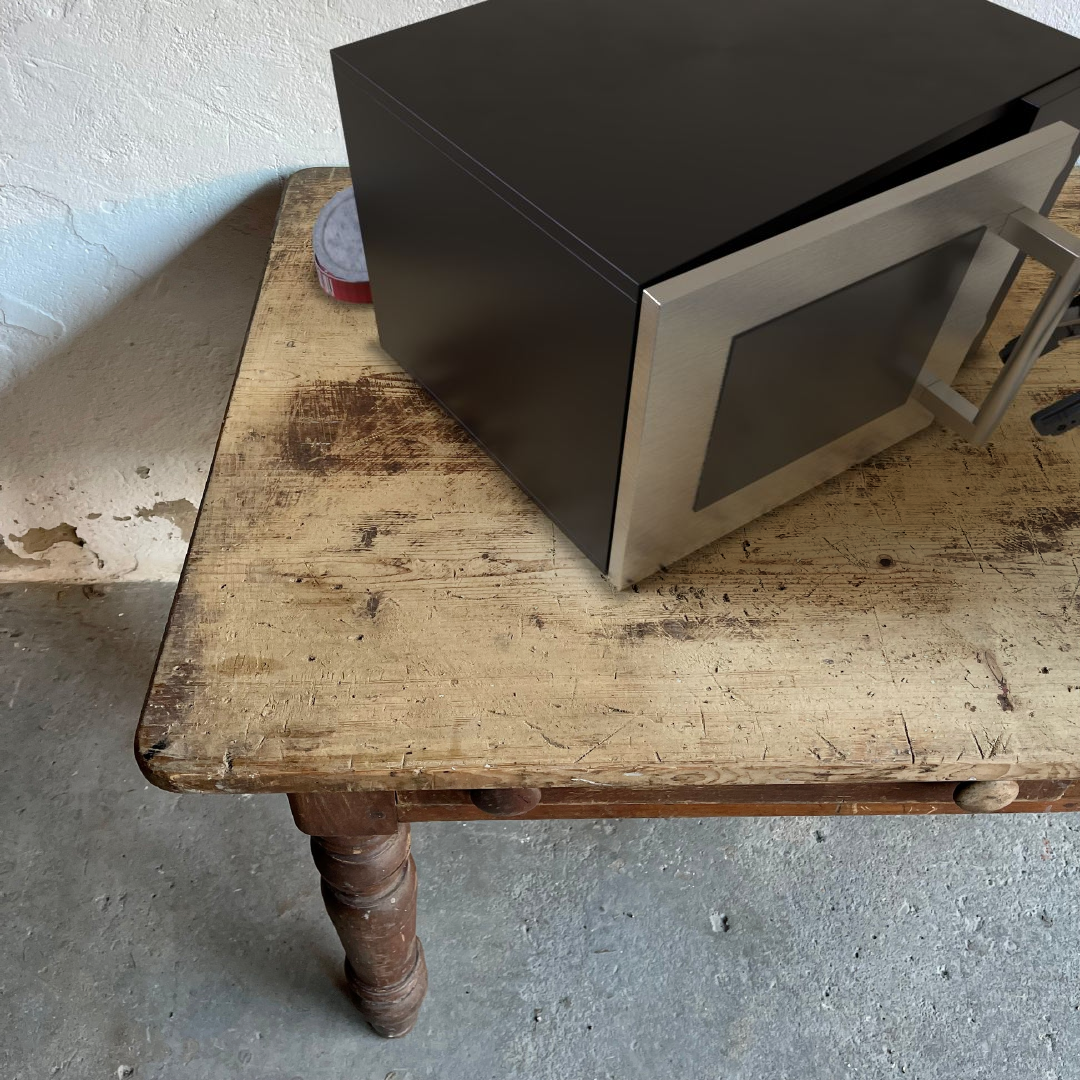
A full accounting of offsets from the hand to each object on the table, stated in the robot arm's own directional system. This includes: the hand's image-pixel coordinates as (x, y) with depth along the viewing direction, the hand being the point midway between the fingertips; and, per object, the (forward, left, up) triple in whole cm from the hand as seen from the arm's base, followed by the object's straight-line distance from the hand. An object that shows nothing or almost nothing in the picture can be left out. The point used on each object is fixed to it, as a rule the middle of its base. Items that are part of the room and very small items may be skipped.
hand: (1019, 393), depth 66 cm
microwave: (+27, -8, -12) cm, 31 cm away
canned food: (+61, -7, -12) cm, 63 cm away
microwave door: (+11, +8, -12) cm, 18 cm away
